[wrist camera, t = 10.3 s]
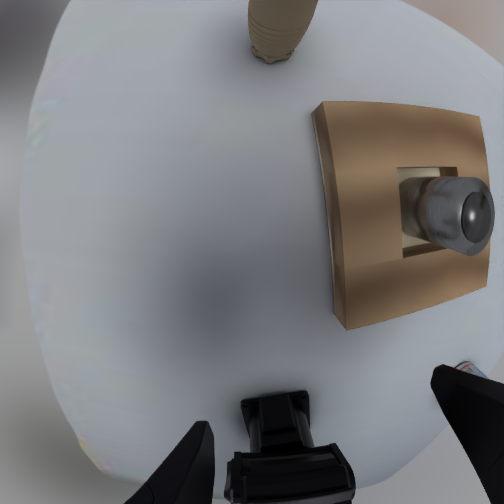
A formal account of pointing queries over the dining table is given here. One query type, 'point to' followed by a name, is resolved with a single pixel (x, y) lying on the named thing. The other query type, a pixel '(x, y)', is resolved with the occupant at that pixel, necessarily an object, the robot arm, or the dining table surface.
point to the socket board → (392, 205)
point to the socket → (448, 212)
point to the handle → (278, 26)
